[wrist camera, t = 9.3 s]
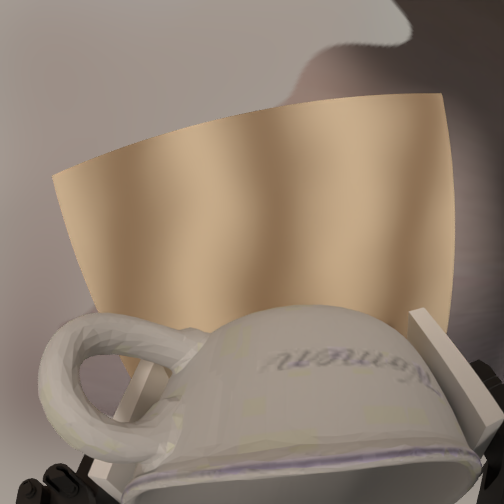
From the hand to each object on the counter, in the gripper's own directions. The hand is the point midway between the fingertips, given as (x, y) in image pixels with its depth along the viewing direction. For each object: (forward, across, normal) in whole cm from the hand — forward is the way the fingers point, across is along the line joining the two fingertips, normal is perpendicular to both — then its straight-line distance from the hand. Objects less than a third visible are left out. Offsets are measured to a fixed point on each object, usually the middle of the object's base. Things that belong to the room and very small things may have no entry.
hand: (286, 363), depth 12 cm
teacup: (+1, -1, 0) cm, 1 cm away
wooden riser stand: (+8, 0, 0) cm, 8 cm away
